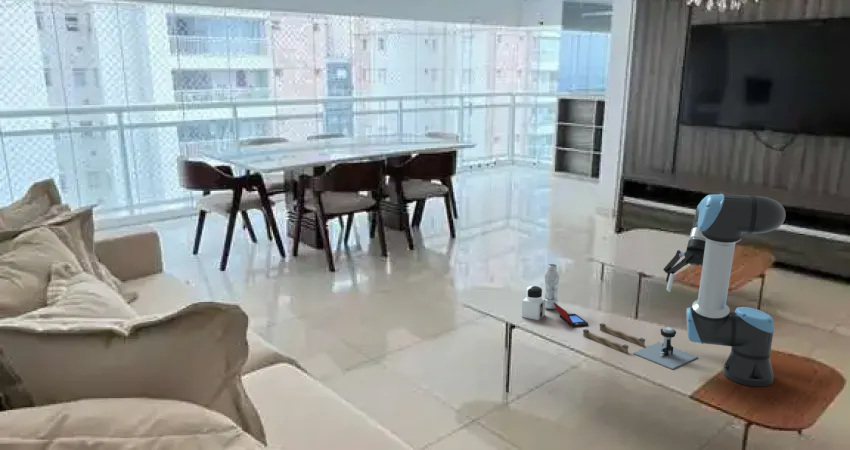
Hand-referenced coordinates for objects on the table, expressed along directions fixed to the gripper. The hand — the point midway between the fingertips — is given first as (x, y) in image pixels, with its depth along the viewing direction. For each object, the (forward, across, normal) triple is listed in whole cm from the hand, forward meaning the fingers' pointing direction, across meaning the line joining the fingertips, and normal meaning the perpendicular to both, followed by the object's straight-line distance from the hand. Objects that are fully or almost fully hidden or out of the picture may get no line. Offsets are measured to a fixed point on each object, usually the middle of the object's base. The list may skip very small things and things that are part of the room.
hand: (686, 293), depth 228 cm
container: (+21, +60, -1) cm, 63 cm away
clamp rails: (+24, +22, 0) cm, 33 cm away
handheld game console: (+19, +44, -5) cm, 49 cm away
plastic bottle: (+14, +59, -12) cm, 61 cm away
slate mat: (+25, +2, 0) cm, 25 cm away
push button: (+24, +2, 0) cm, 25 cm away
